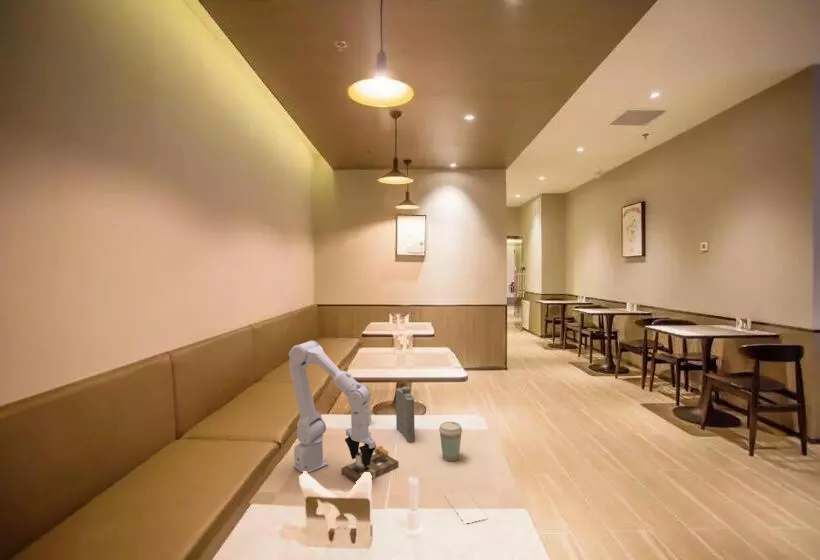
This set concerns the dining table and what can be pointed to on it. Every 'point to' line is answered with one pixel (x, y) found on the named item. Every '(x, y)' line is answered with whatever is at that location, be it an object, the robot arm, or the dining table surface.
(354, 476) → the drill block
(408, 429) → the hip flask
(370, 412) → the syrup box
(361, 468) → the frosted round dowel plug
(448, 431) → the coffee cup
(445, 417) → the dining table surface
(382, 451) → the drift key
